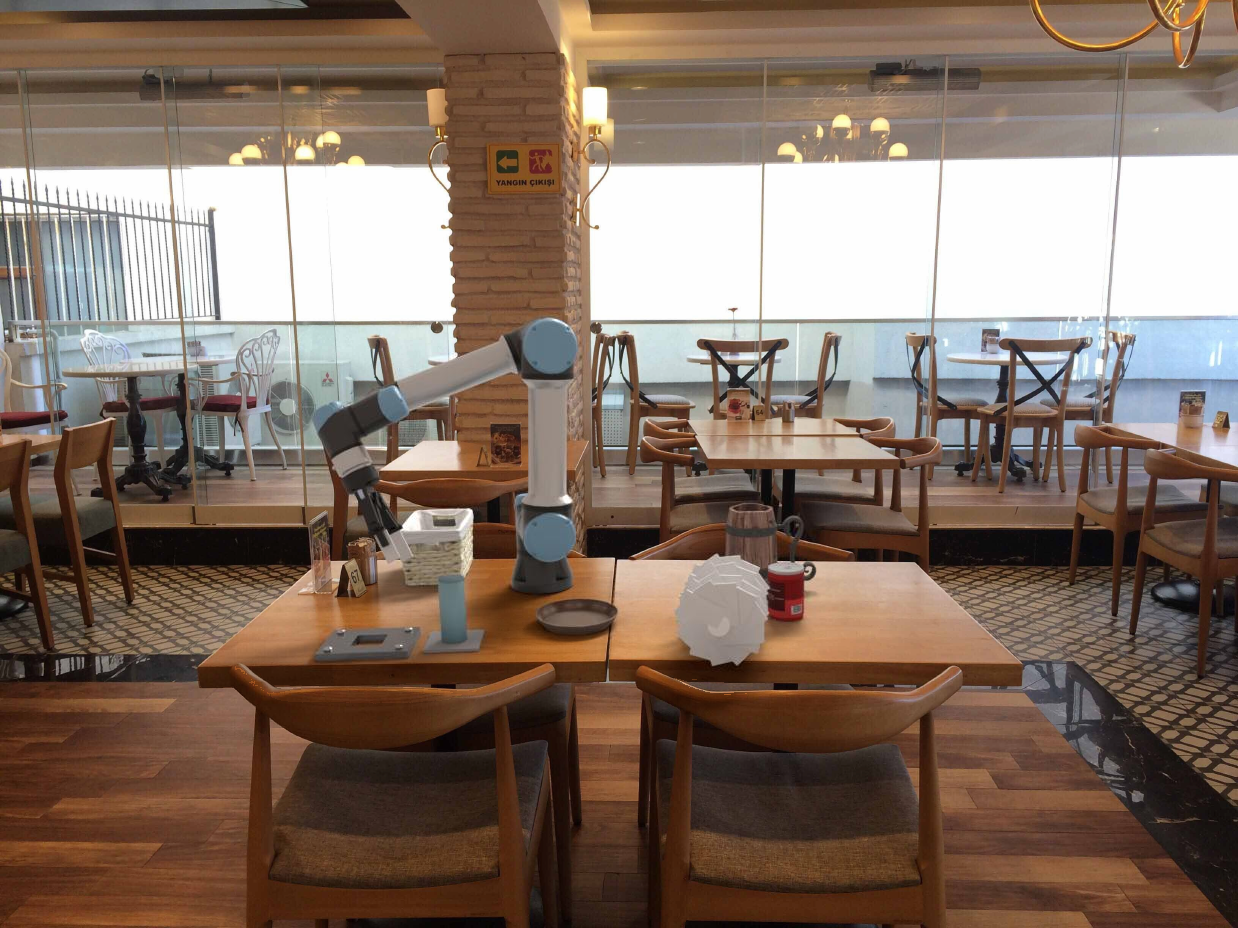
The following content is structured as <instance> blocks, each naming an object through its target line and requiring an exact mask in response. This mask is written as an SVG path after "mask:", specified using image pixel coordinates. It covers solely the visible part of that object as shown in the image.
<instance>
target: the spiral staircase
mask: <svg viewBox="0 0 1238 928" xmlns="http://www.w3.org/2000/svg"><path fill="white" fill-rule="evenodd" d="M759 570H760V568H759V567H757V566H755V565H753V564H750V563H748V562H746V561H744V560H741V558H740V555H739V556H727V557H725V556H720V555H719V554H718V553H716V554H714V555H712V556H711V557H710V558H708V559H706V560H704V562H702V563H700V564H699V563H697V562H696V563H694V566H693V568H692V571H691V573H689V575H688V578H687V580H685V581H684V585H685V587H684V589H683V591H682V592H681V593H680V595H678V598H679V599H678V600H679V605H678V607H675V608H673V610H674V614H675V617H676V620H677V621H676V622H677V623H678V624H677V625H678V627H679V629H678V630H676V632H675V634H676V635H677V636H678V637H679V638H680V640H681V641H683V642H684V644H686V645H687V646H688V647H689V648H690V651H689V655H690V656H694V657H697V658H701V659H705V660H708V661H710V664H711V666H712V667H714V666H718V665H722V664H727V663H731V662H732V663H733V664H735V665H736V666H738V665H740V664H741V663H742V661H744V660H745V659H746V658H747V657H748V656H749V655H750V654H751V653H754V654H759V650H760V646H761V644H765V623H766V621H768V617H769V612H768V600H767V599H766V595H767V594H768V592H767V590H768V589H770V588H769V586H768V585H767V583H766V582H765V581H764V579H763V578H762V577H761V575H760V574H759V573H758V572H759Z"/></svg>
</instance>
